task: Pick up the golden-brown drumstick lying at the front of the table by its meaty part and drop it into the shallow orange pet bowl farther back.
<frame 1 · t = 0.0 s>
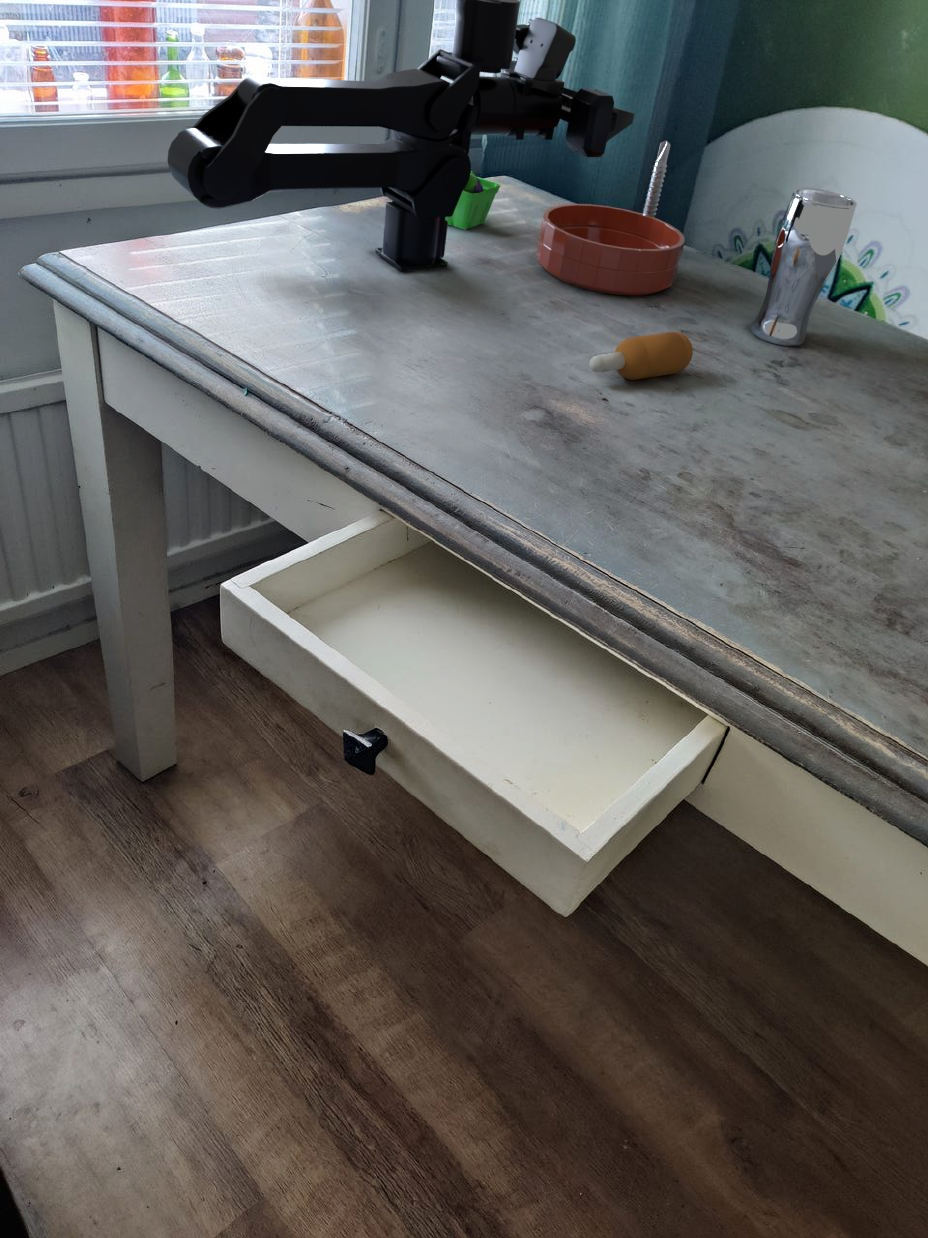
hand: (608, 108, 114), 17 cm above the table, tool horizontal, fingers open, 9 cm apart
drumstick: (648, 374, 95), on the table
screw: (641, 245, 129), on the table
shallow orange pet bowl: (603, 271, 118), on the table
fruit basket: (444, 219, 127), on the table
beer glass: (776, 336, 108), on the table
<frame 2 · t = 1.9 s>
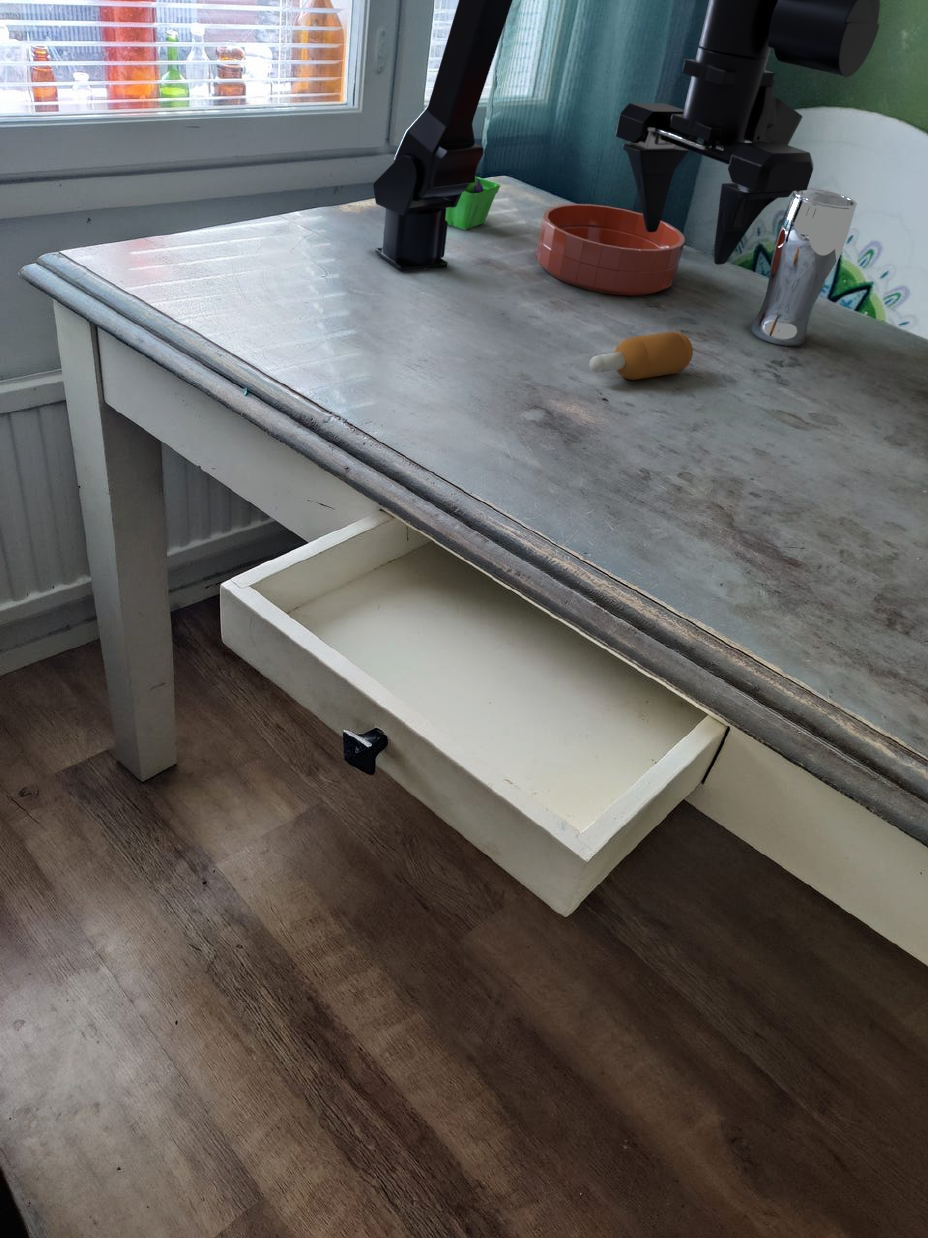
hand: (684, 247, 87), 12 cm above the table, tool pointing down, fingers open, 9 cm apart
nothing on the table moved.
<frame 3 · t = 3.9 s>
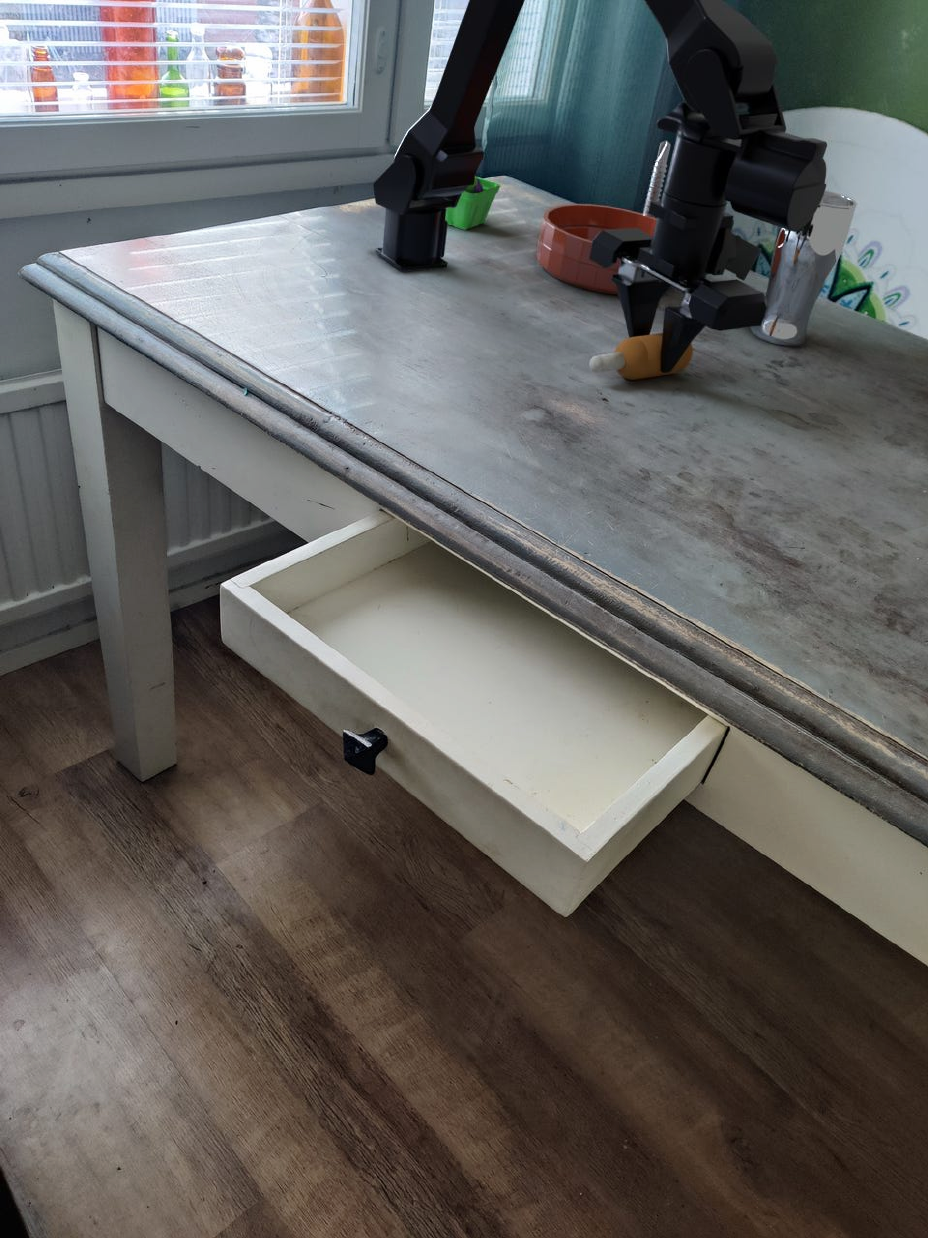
hand: (651, 362, 94), 1 cm above the table, tool pointing down, fingers closed on drumstick, 4 cm apart
drumstick: (648, 374, 95), on the table, touching gripper
everything else where it was.
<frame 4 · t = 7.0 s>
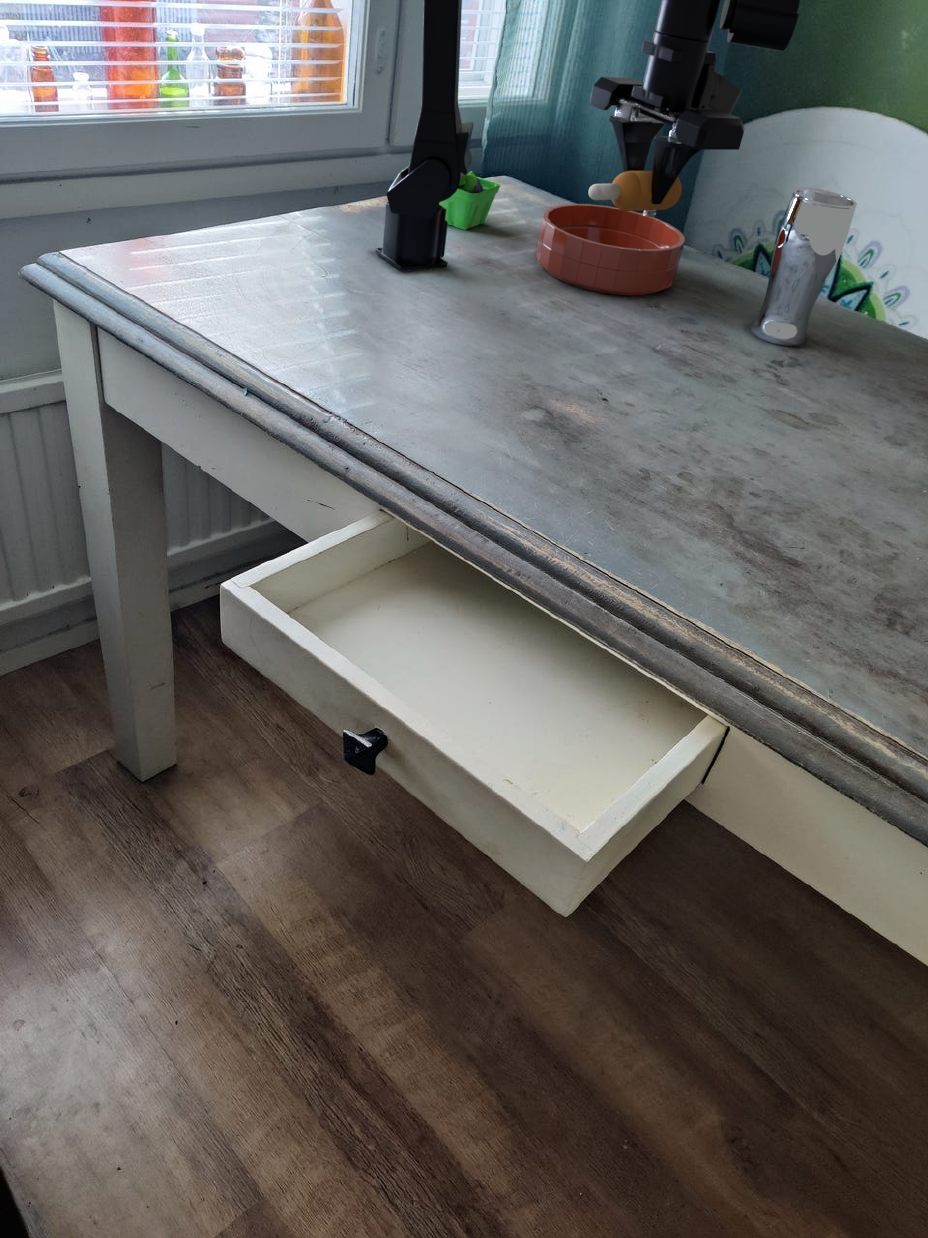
hand: (644, 197, 105), 11 cm above the table, tool pointing down, fingers closed on drumstick, 4 cm apart
drumstick: (641, 209, 106), point 10 cm above the table, touching gripper
everything else where it was.
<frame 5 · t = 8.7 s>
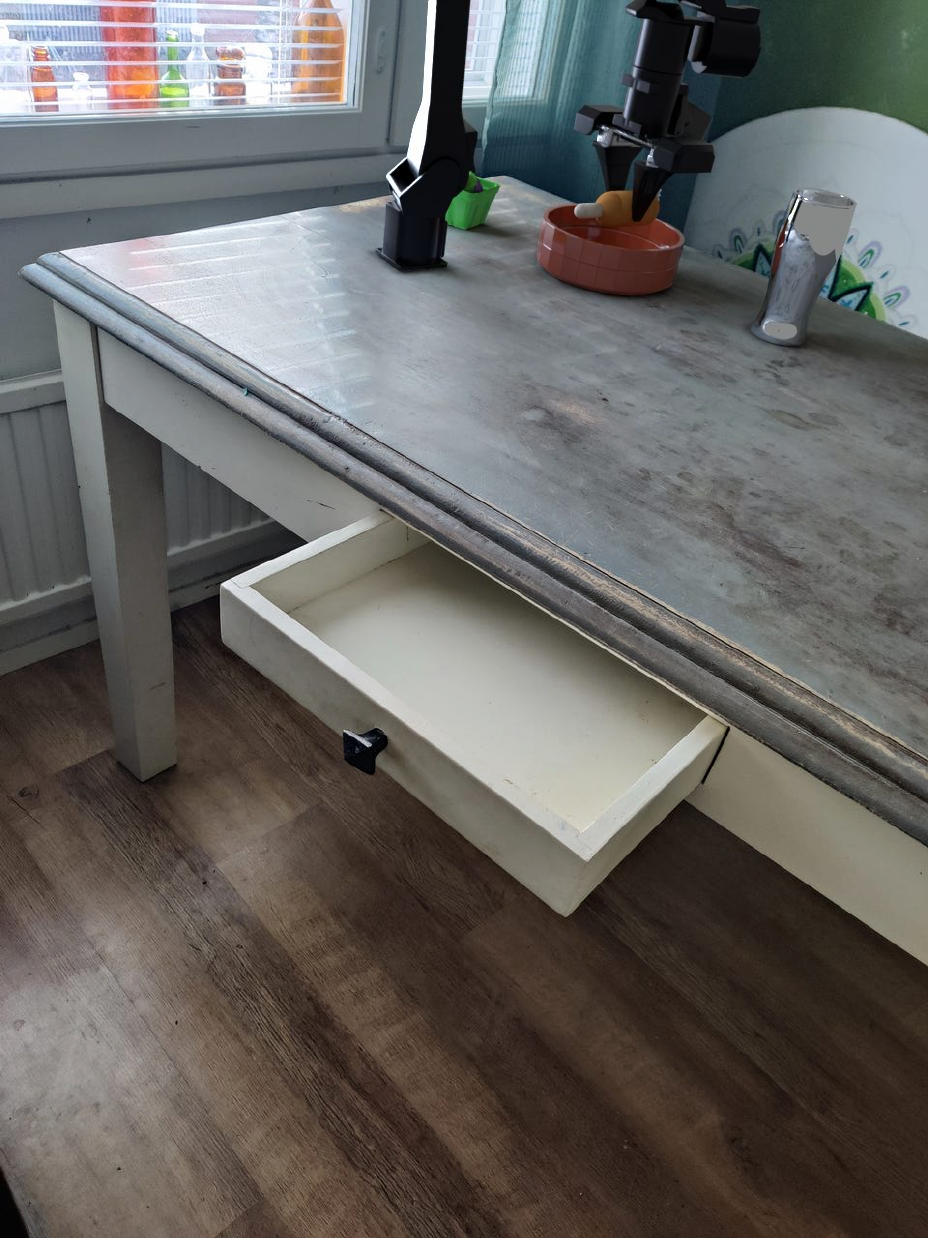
hand: (625, 215, 115), 7 cm above the table, tool pointing down, fingers closed on drumstick, 4 cm apart
drumstick: (623, 225, 115), point 5 cm above the table, touching gripper
everything else where it was.
when the fingers open (3 cm above the table, at t = 10.1 s): drumstick drops 1 cm, resting on shallow orange pet bowl.
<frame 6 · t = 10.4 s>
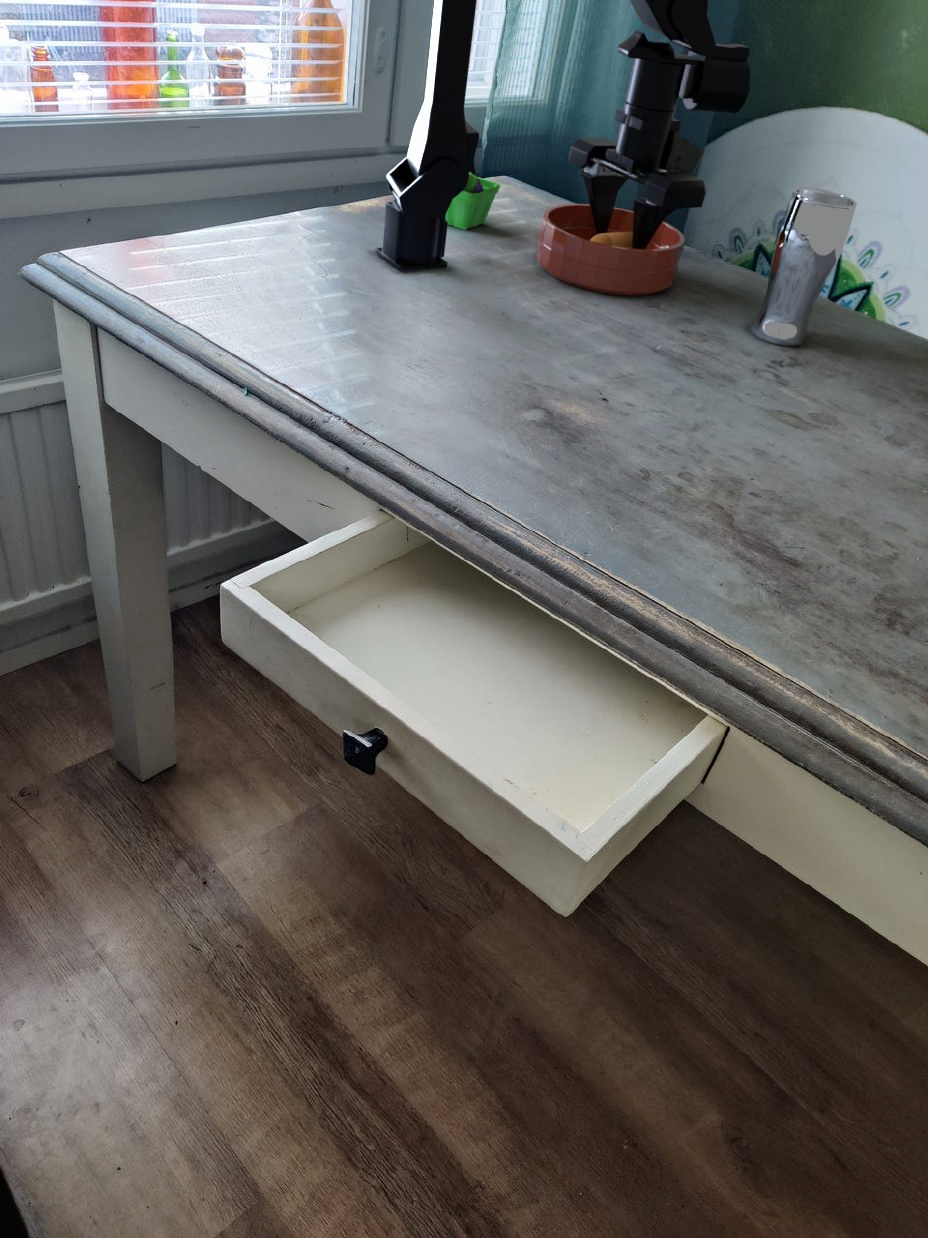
hand: (618, 246, 117), 3 cm above the table, tool pointing down, fingers open, 7 cm apart
drumstick: (614, 265, 118), point 1 cm above the table, touching shallow orange pet bowl
everything else where it was.
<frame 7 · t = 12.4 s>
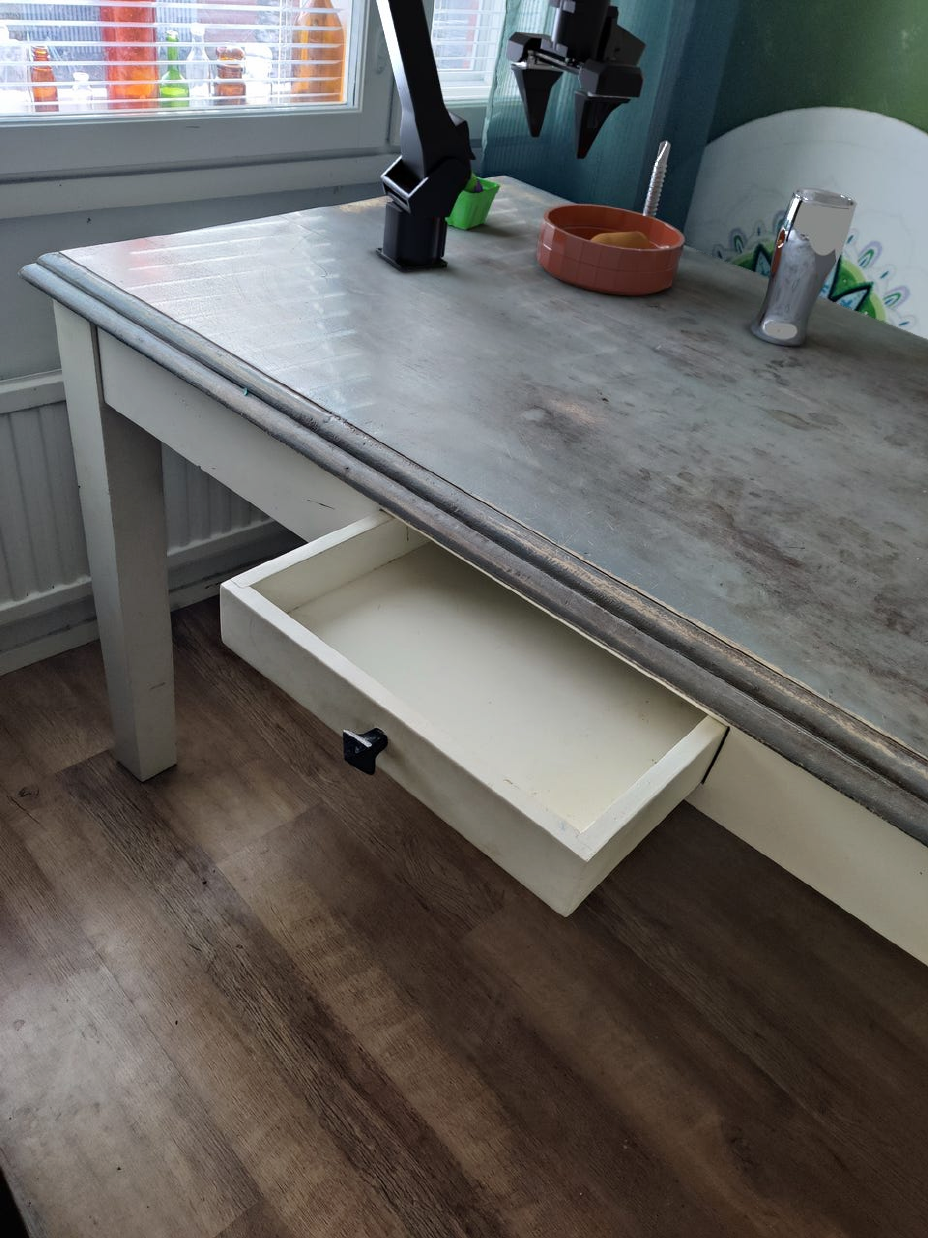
hand: (556, 147, 111), 13 cm above the table, tool pointing down, fingers open, 9 cm apart
nothing on the table moved.
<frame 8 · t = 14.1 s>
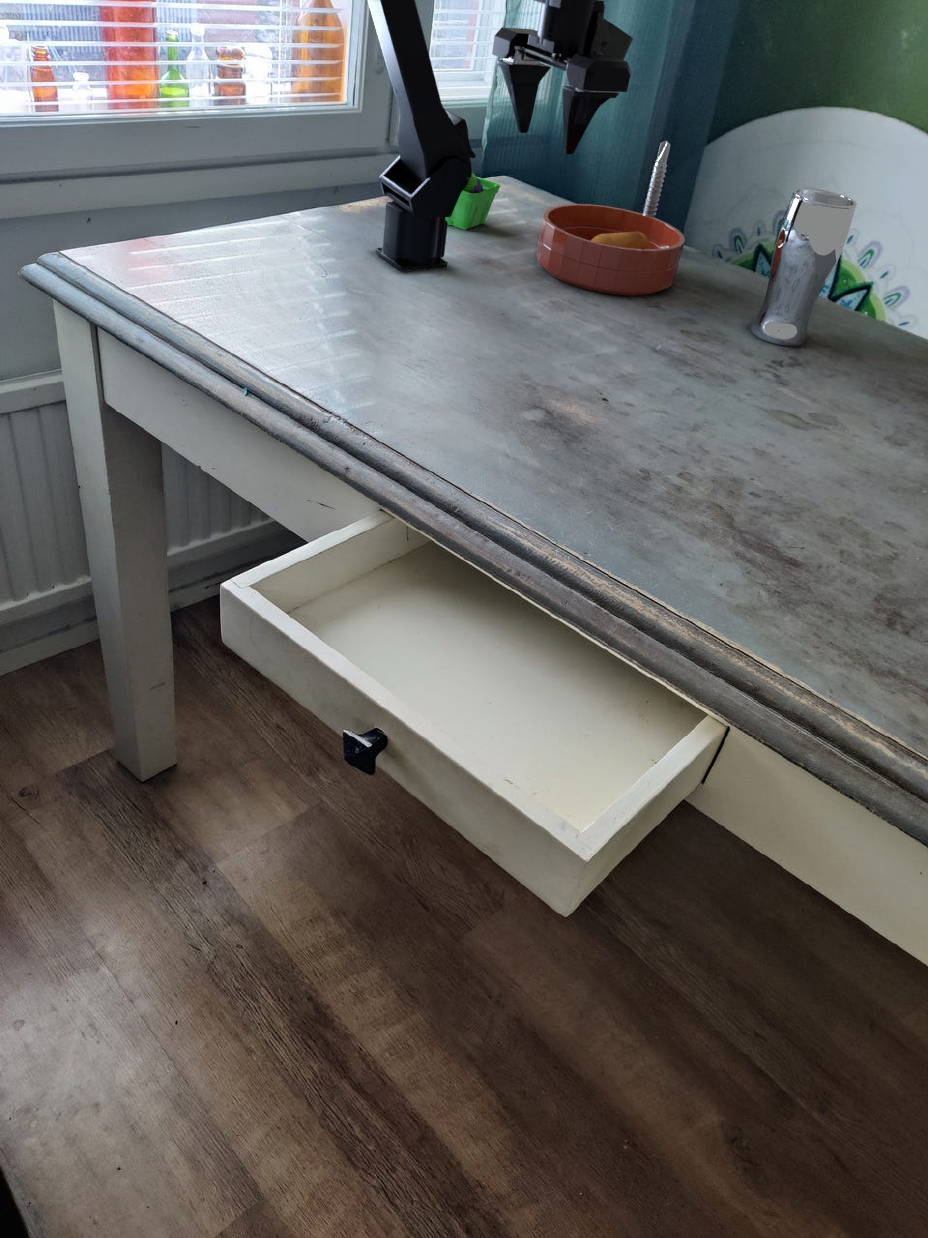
hand: (545, 142, 111), 13 cm above the table, tool pointing down, fingers open, 9 cm apart
nothing on the table moved.
at the end: drumstick inside the target area in the shallow orange pet bowl (1.5 cm from its centre), point 0.6 cm above the shallow orange pet bowl's base; the gripper is holding nothing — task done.
